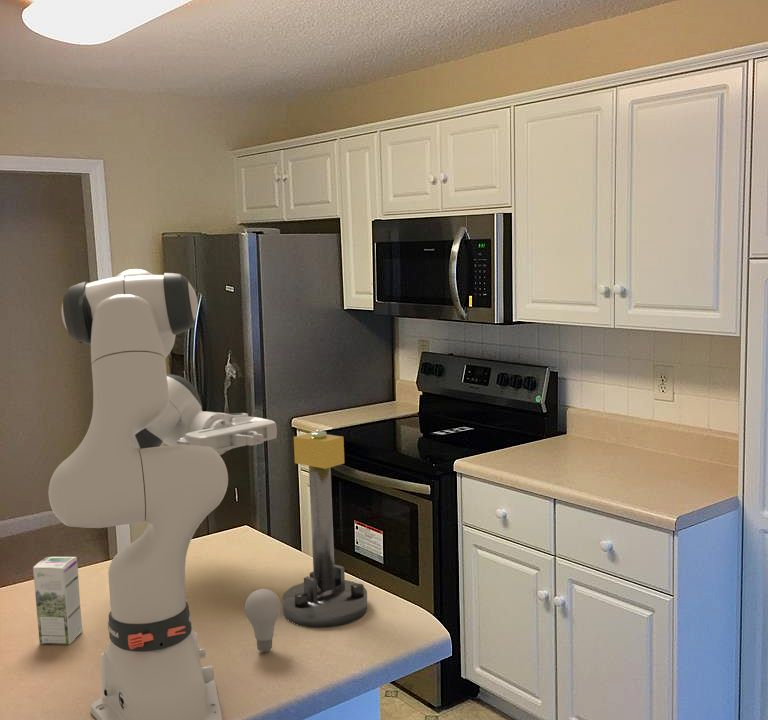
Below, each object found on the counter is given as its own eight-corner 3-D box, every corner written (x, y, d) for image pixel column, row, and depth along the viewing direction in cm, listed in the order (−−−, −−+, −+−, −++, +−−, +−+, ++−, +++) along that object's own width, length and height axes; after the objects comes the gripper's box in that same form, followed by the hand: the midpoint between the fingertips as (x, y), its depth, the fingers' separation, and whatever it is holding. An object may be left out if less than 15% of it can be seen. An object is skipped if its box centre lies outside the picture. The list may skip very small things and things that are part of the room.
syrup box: (83, 631, 159) (78, 555, 157) (69, 646, 153) (63, 566, 151) (53, 631, 159) (47, 554, 157) (38, 645, 153) (31, 566, 152)
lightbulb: (272, 662, 144) (269, 599, 143) (240, 657, 146) (237, 594, 145) (289, 646, 150) (286, 585, 149) (257, 642, 152) (254, 581, 151)
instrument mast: (351, 590, 164) (344, 428, 161) (329, 601, 160) (322, 434, 156) (320, 581, 170) (314, 424, 166) (298, 591, 165) (291, 430, 161)
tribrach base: (384, 606, 166) (383, 568, 165) (327, 635, 154) (325, 595, 153) (324, 587, 176) (322, 552, 175) (265, 613, 164) (263, 576, 163)
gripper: (171, 426, 173) (215, 433, 164) (249, 411, 189) (293, 416, 180) (173, 457, 174) (217, 465, 165) (250, 440, 189) (295, 446, 180)
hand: (257, 440), depth 172 cm, fingers closed
